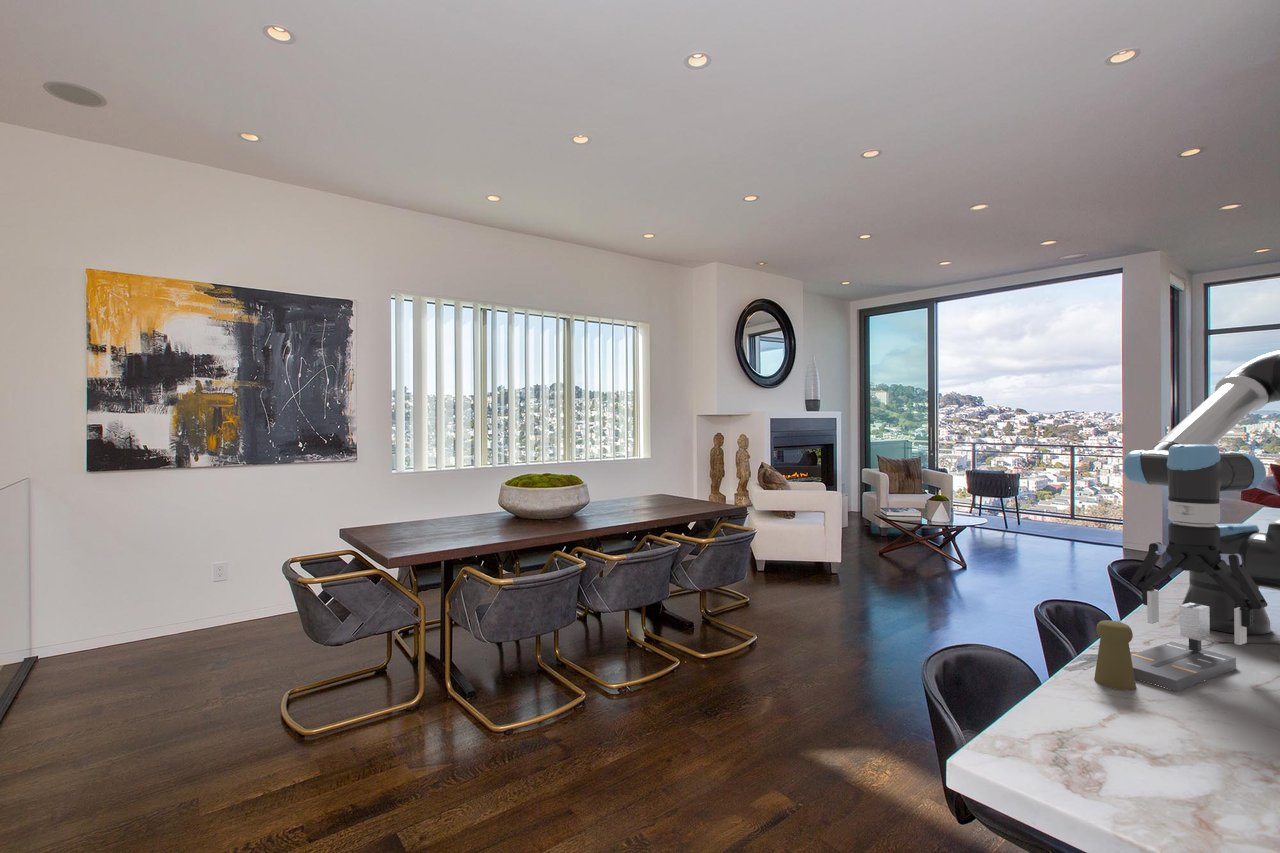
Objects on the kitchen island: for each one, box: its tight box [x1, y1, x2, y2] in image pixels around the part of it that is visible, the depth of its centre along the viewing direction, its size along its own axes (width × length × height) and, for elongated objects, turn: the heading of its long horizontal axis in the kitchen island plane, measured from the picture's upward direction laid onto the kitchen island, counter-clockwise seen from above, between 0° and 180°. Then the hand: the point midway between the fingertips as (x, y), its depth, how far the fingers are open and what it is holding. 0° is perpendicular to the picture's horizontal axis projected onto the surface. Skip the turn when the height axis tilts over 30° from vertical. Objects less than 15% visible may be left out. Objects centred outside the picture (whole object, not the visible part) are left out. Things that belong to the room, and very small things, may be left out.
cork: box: [1093, 619, 1137, 691], centre depth 111 cm, size 6×6×11 cm
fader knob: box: [1179, 603, 1211, 652], centre depth 120 cm, size 4×3×9 cm
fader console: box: [1130, 641, 1237, 693], centre depth 116 cm, size 22×10×2 cm, turn 116°
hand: (1194, 632), depth 120 cm, fingers open, 13 cm apart
